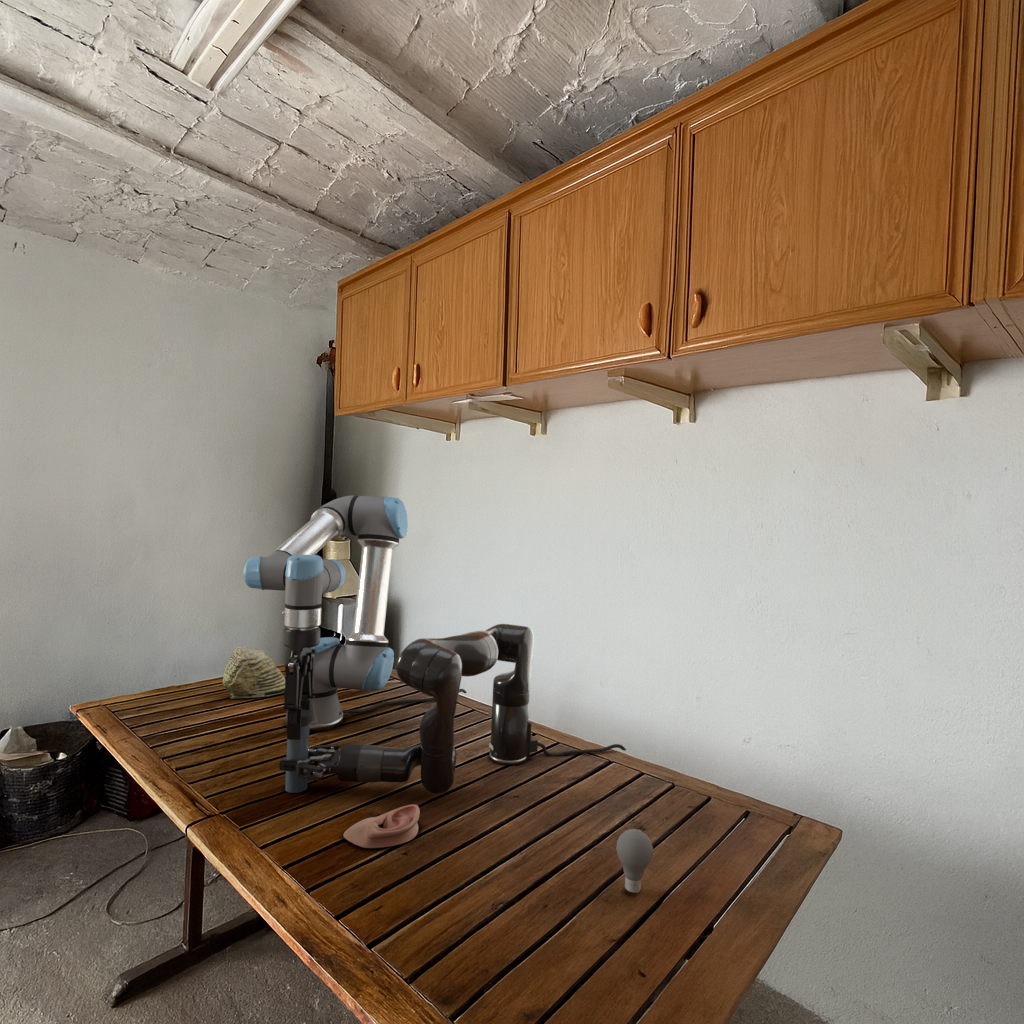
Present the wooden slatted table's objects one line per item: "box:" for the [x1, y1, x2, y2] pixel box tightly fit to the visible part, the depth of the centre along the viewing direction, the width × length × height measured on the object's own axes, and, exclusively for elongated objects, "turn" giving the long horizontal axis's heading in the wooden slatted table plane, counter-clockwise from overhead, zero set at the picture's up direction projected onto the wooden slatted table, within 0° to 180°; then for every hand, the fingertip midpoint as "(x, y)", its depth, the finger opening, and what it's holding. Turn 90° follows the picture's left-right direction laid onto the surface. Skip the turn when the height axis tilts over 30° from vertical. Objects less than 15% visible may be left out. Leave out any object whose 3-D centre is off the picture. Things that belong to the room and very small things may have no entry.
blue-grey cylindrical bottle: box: [284, 724, 310, 794], centre depth 137 cm, size 5×5×16 cm
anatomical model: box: [342, 804, 421, 849], centre depth 120 cm, size 13×4×12 cm
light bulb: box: [615, 828, 654, 894], centre depth 106 cm, size 6×6×10 cm
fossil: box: [222, 646, 285, 699], centre depth 198 cm, size 9×18×15 cm, turn 132°
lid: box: [285, 709, 312, 726], centre depth 137 cm, size 5×5×2 cm
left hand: (298, 733), depth 137 cm, fingers closed on lid, 5 cm apart
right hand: (285, 759), depth 137 cm, fingers closed on blue-grey cylindrical bottle, 4 cm apart
